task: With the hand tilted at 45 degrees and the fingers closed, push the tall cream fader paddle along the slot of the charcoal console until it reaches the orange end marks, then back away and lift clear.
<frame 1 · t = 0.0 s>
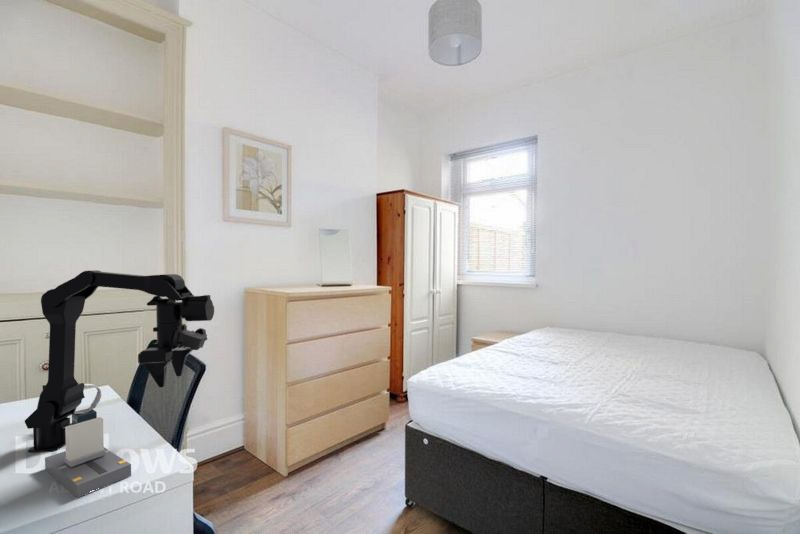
hand: (170, 381, 97), 15 cm above the table, tool pointing down, fingers open, 9 cm apart
fader: (85, 440, 81), point 7 cm above the table, slide at 0.0 cm
watch: (84, 423, 107), on the table
console: (87, 472, 81), on the table
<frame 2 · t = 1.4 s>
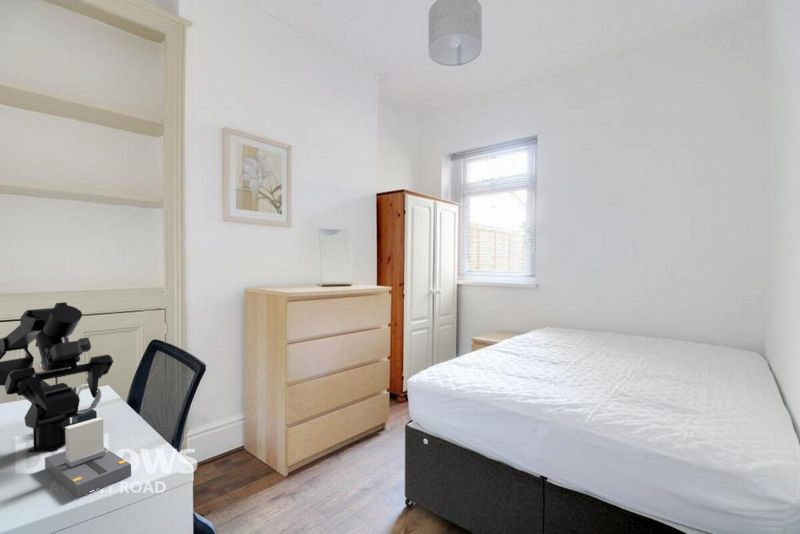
hand: (72, 402, 86), 13 cm above the table, tool tilted 45°, fingers open, 8 cm apart
nothing on the table moved.
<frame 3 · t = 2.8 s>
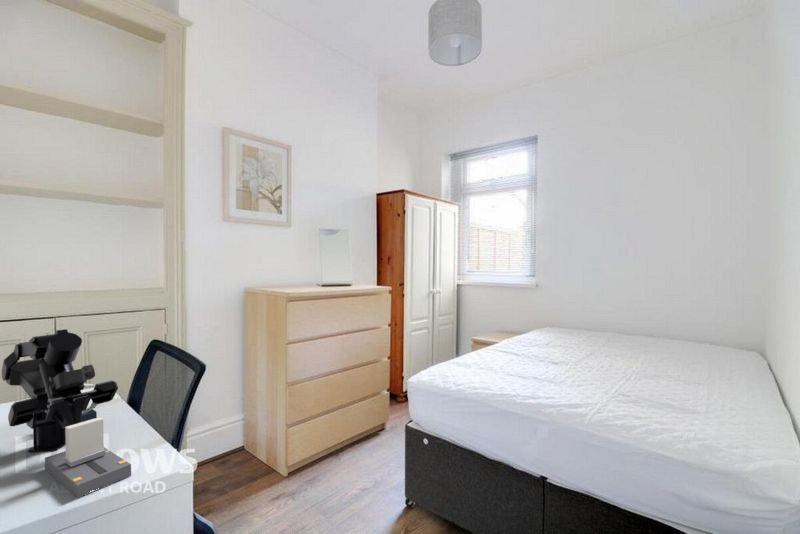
hand: (76, 432, 84), 7 cm above the table, tool tilted 45°, fingers closed
nothing on the table moved.
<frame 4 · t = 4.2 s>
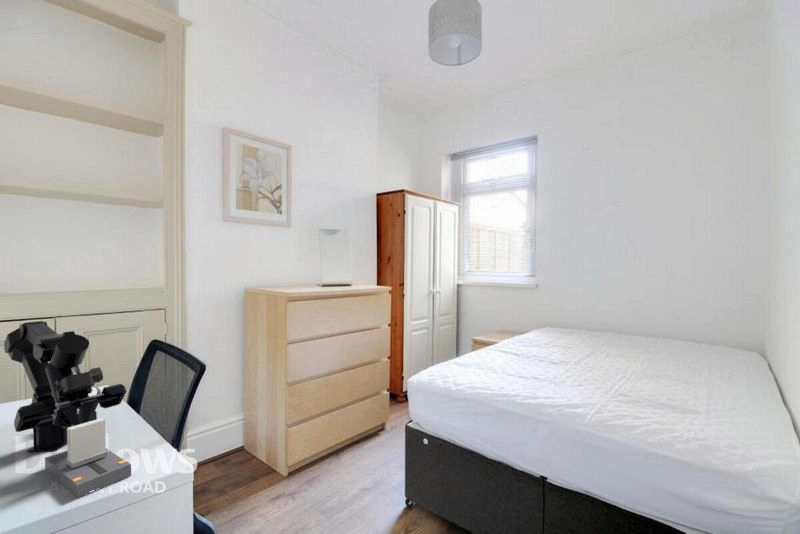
hand: (84, 437, 82), 7 cm above the table, tool tilted 45°, fingers closed, pressing on fader
fader: (86, 441, 81), point 7 cm above the table, slide at 1.1 cm, touching gripper
everything else where it was.
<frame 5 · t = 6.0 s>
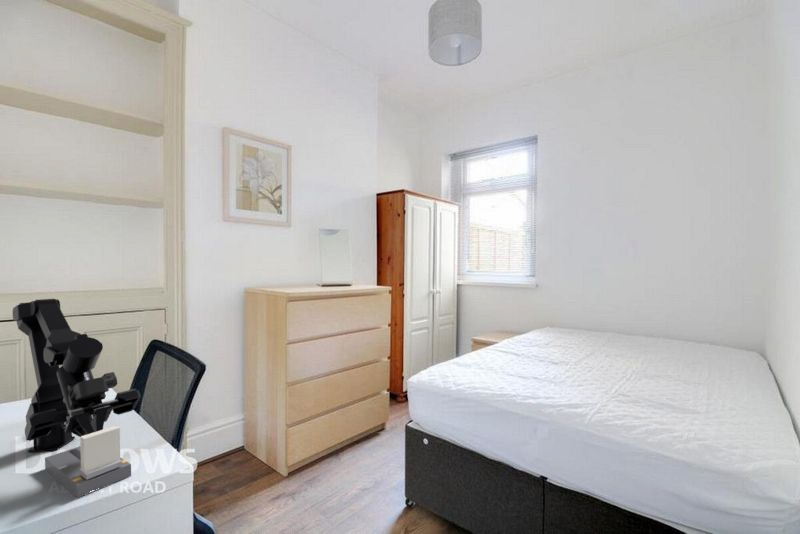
hand: (98, 446, 77), 7 cm above the table, tool tilted 45°, fingers closed, pressing on fader
fader: (100, 450, 77), point 7 cm above the table, slide at 8.8 cm, touching gripper
everything else where it was.
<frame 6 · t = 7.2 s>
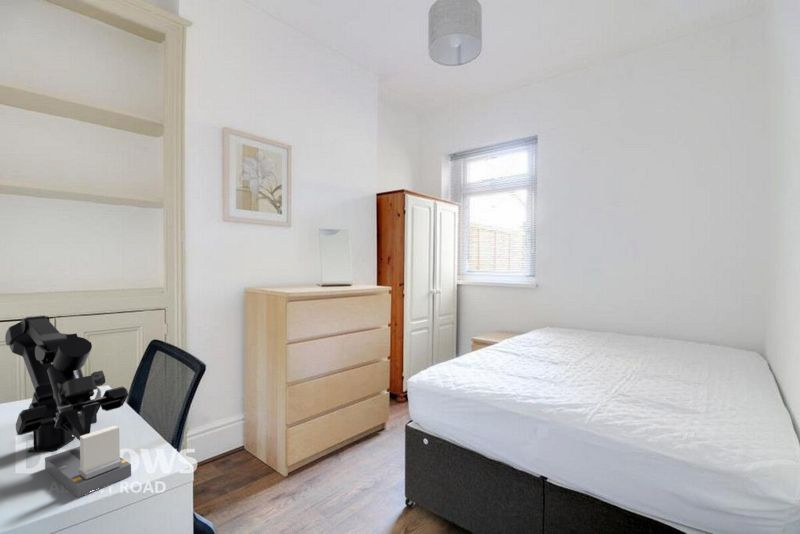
hand: (86, 441, 81), 7 cm above the table, tool tilted 45°, fingers closed
fader: (100, 450, 77), point 7 cm above the table, slide at 8.5 cm
everything else where it was.
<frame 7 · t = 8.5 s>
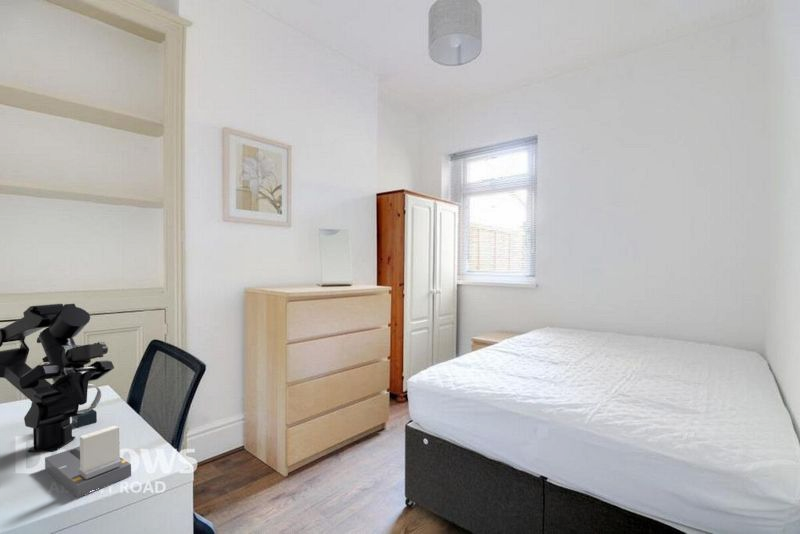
hand: (83, 403, 89), 12 cm above the table, tool tilted 35°, fingers closed
nothing on the table moved.
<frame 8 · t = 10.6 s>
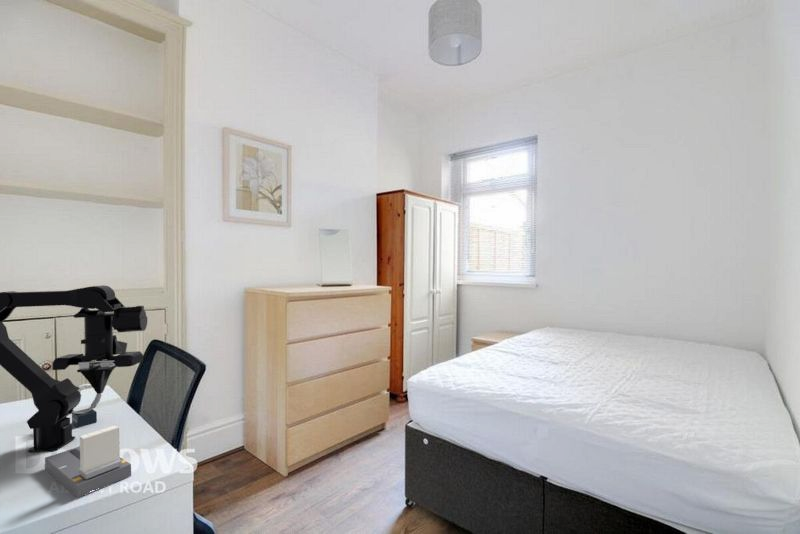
hand: (100, 393, 97), 12 cm above the table, tool pointing down, fingers closed
nothing on the table moved.
at the end: fader slide at 8.5 cm; watch moved 0.2 cm from its start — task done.
